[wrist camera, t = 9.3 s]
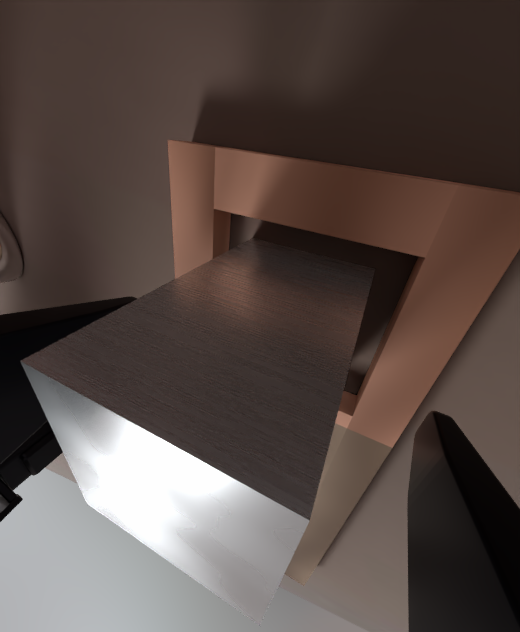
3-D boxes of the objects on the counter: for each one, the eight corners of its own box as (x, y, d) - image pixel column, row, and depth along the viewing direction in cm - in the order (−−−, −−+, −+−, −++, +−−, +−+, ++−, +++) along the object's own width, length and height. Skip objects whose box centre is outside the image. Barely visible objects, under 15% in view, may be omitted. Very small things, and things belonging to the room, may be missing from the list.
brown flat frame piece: (196, 499, 24) (188, 513, 23) (190, 141, 10) (167, 139, 9) (308, 566, 21) (303, 585, 20) (530, 193, 7) (551, 200, 6)
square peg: (243, 333, 13) (87, 503, 7) (252, 238, 10) (20, 361, 4) (338, 369, 12) (259, 625, 5) (375, 268, 9) (310, 520, 3)
